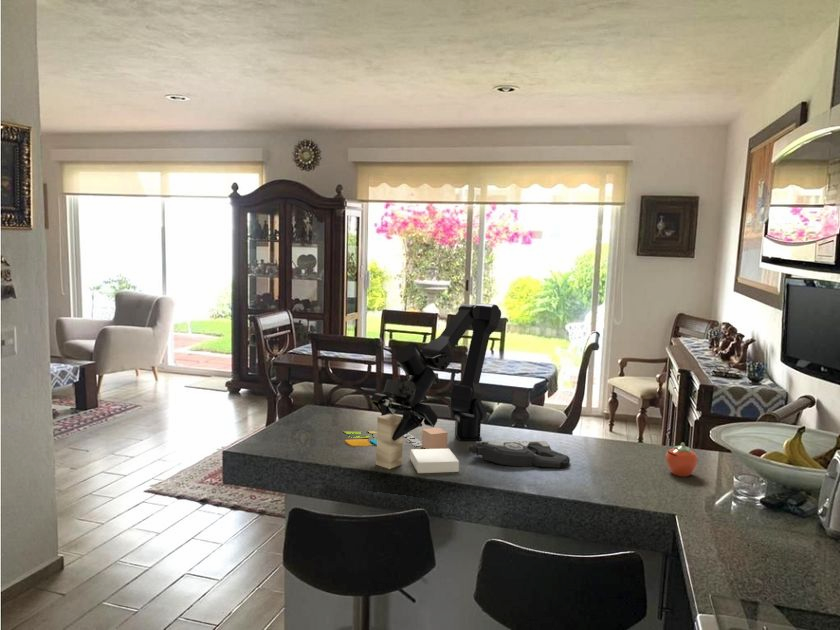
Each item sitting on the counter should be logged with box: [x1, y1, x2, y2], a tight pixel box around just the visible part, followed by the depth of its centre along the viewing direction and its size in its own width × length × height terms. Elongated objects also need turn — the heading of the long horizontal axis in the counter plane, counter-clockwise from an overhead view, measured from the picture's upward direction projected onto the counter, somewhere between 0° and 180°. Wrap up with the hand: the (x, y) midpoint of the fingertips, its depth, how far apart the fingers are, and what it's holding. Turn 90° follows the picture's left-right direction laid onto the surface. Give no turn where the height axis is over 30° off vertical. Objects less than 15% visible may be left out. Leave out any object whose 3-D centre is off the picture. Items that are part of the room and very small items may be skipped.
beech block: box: [375, 413, 404, 470], centre depth 148 cm, size 4×4×12 cm
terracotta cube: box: [421, 427, 448, 449], centre depth 163 cm, size 5×5×5 cm
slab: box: [410, 447, 460, 474], centre depth 149 cm, size 10×10×3 cm
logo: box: [342, 430, 422, 448], centre depth 171 cm, size 23×1×20 cm
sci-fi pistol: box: [468, 440, 571, 469], centre depth 155 cm, size 4×24×15 cm
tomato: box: [665, 442, 699, 477], centre depth 149 cm, size 7×7×8 cm
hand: (385, 437), depth 147 cm, fingers closed on beech block, 4 cm apart
